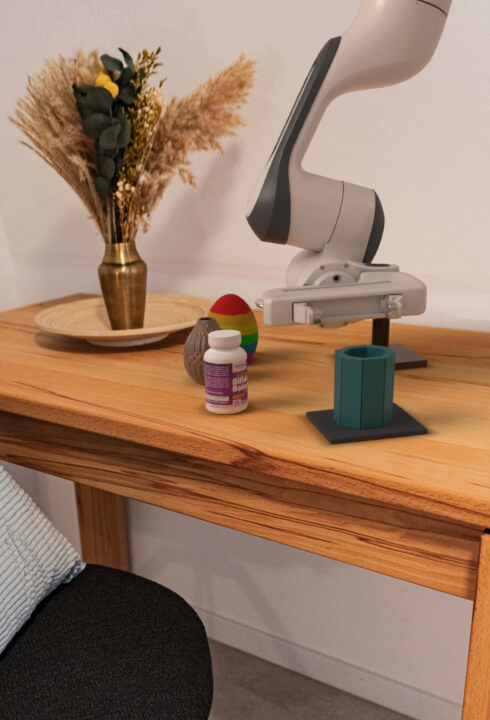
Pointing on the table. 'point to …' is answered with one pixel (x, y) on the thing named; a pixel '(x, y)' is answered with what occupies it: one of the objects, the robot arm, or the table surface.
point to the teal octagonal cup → (364, 386)
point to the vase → (198, 348)
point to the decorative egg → (237, 320)
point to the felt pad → (339, 434)
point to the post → (395, 346)
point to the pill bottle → (225, 373)
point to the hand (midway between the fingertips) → (355, 315)
